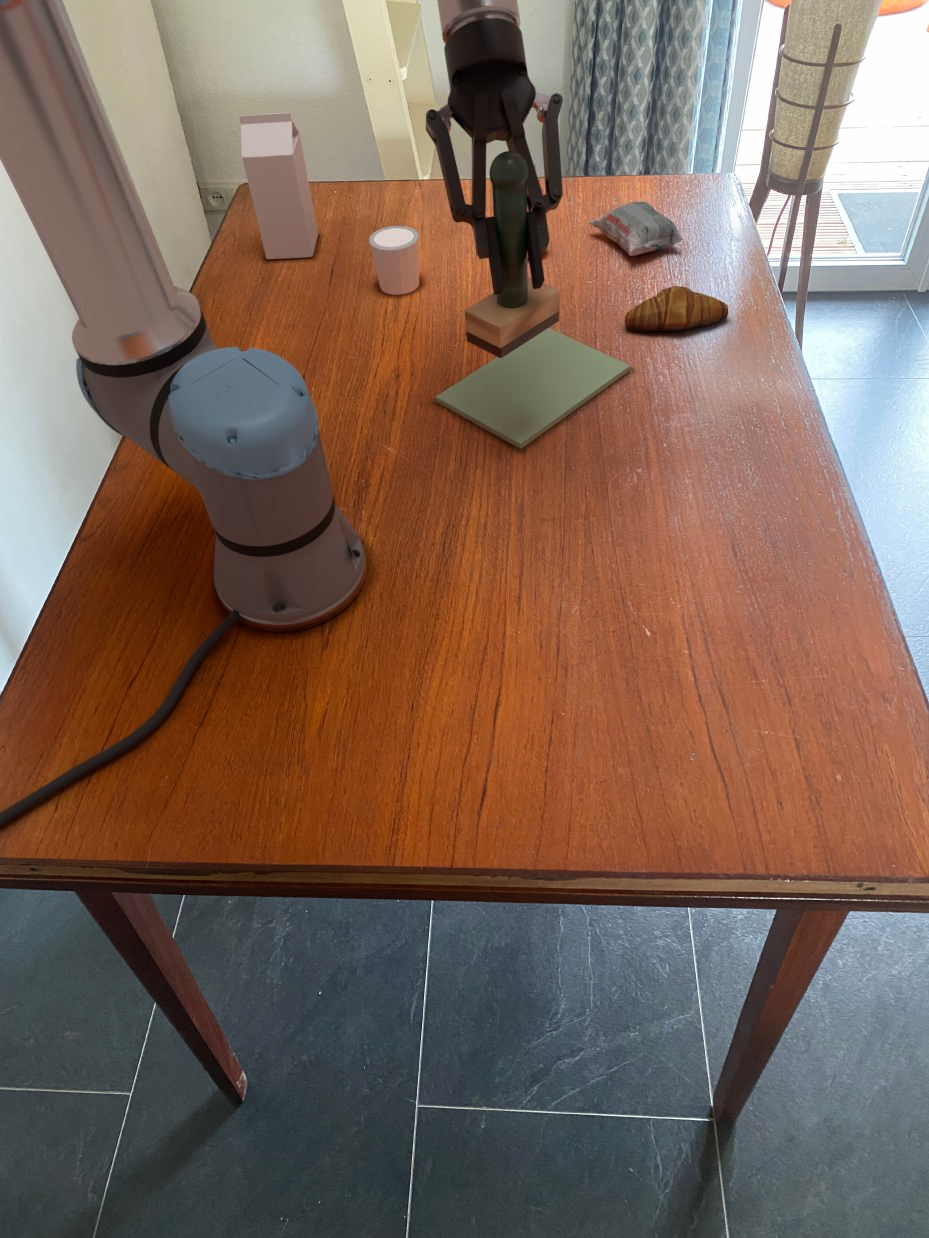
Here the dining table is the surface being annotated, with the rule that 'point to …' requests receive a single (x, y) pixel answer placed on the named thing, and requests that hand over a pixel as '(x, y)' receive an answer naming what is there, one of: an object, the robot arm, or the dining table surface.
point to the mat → (532, 386)
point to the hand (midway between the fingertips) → (518, 287)
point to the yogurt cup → (396, 258)
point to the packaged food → (638, 228)
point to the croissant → (676, 311)
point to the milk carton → (278, 185)
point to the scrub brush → (511, 270)
